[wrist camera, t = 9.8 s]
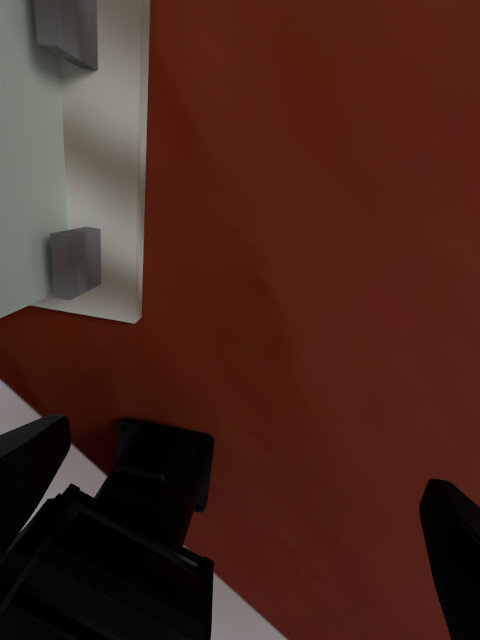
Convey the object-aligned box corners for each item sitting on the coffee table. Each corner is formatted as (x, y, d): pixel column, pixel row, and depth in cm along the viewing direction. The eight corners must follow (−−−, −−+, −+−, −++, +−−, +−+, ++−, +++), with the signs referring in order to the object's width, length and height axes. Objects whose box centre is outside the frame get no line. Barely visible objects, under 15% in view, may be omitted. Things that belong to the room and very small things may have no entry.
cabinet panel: (141, 317, 21) (109, 345, 18) (-15, 290, 22) (-78, 311, 18) (151, -58, 15) (106, -138, 11) (-66, -76, 16) (-175, -156, 12)
